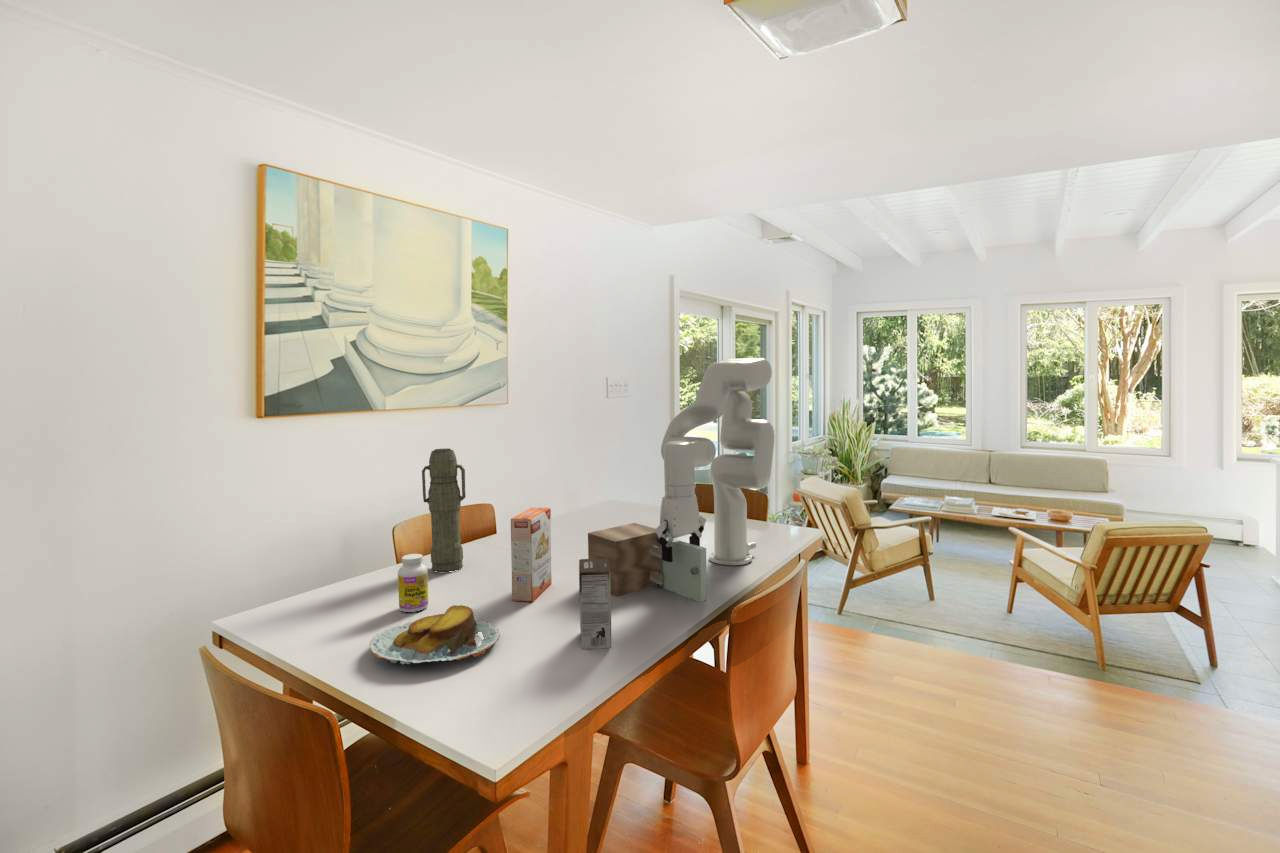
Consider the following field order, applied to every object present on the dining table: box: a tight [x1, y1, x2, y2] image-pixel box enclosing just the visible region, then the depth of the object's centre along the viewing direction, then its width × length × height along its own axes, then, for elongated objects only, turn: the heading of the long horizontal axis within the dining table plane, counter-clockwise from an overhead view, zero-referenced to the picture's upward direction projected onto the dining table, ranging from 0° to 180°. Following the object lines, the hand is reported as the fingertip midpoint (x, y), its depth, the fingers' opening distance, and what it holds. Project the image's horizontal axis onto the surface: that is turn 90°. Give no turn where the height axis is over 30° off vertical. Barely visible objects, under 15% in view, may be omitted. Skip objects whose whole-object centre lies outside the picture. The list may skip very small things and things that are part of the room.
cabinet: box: [587, 522, 663, 597], centre depth 161 cm, size 16×16×14 cm
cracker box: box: [510, 507, 552, 603], centre depth 157 cm, size 14×6×21 cm, turn 168°
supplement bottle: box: [397, 553, 429, 613], centre depth 147 cm, size 7×7×13 cm
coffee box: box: [578, 558, 612, 650], centre depth 128 cm, size 9×6×16 cm
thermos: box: [421, 448, 466, 573], centre depth 178 cm, size 9×12×35 cm
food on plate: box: [369, 605, 501, 665], centre depth 126 cm, size 25×25×7 cm
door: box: [659, 537, 708, 603], centre depth 154 cm, size 3×15×13 cm, turn 41°
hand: (681, 556), depth 155 cm, fingers open, 9 cm apart
